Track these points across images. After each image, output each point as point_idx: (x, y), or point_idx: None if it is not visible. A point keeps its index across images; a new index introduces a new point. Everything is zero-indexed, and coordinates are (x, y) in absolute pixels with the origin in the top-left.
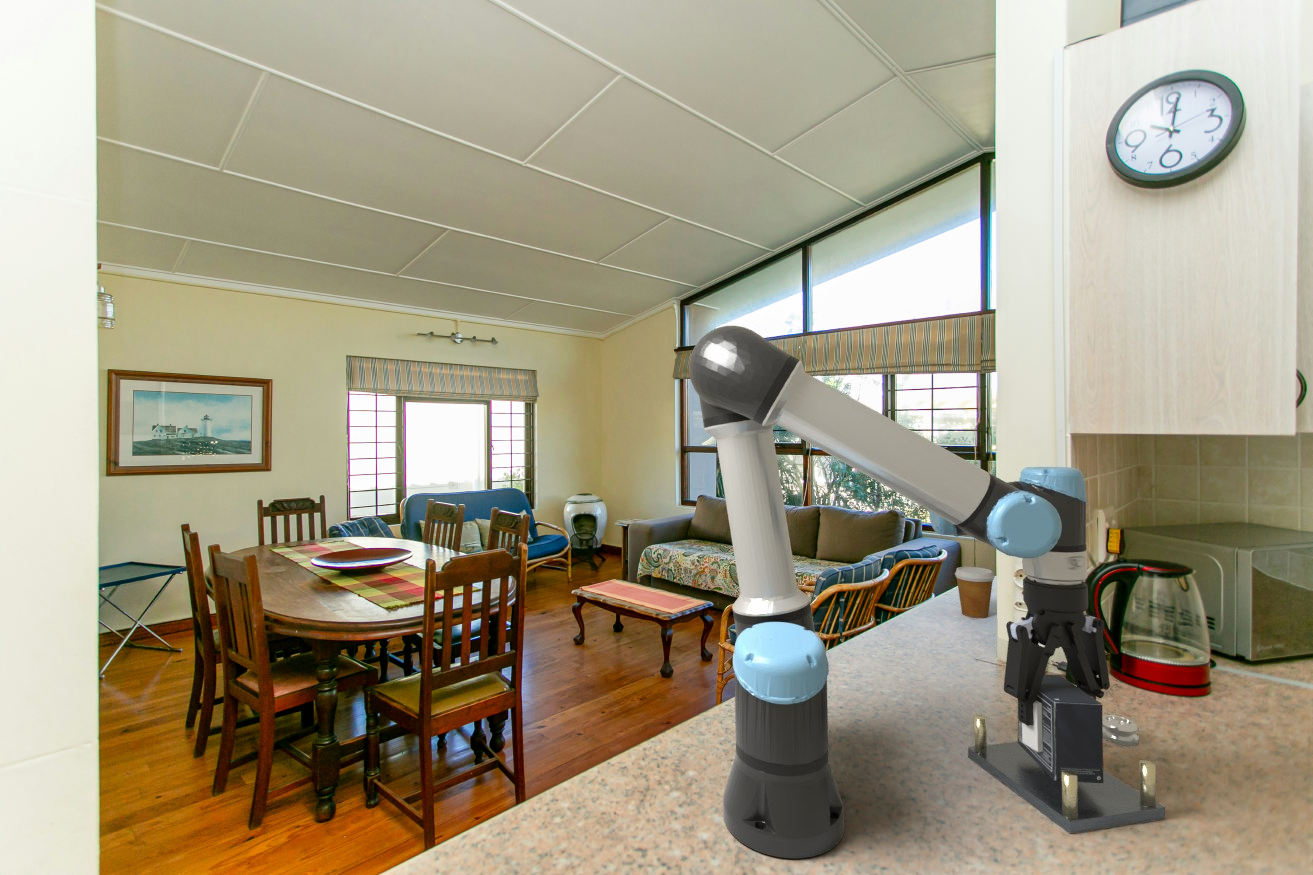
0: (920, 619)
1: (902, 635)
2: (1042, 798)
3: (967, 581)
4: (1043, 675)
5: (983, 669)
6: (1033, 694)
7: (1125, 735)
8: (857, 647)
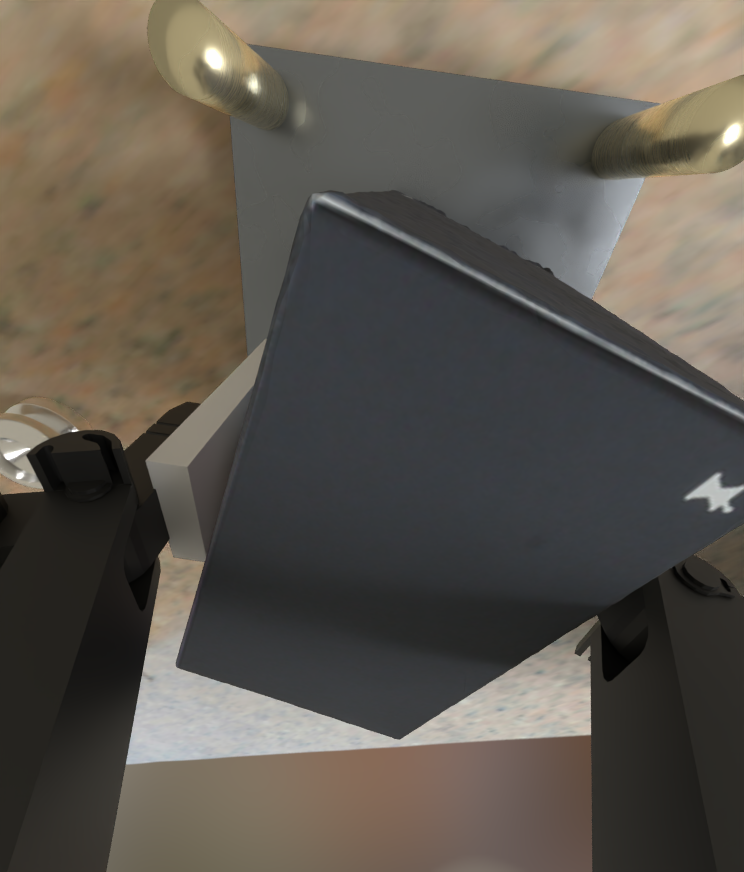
0: (154, 753)
1: (221, 741)
2: (591, 268)
3: None
4: (707, 822)
5: (163, 660)
6: (705, 609)
7: (40, 422)
8: (325, 745)
